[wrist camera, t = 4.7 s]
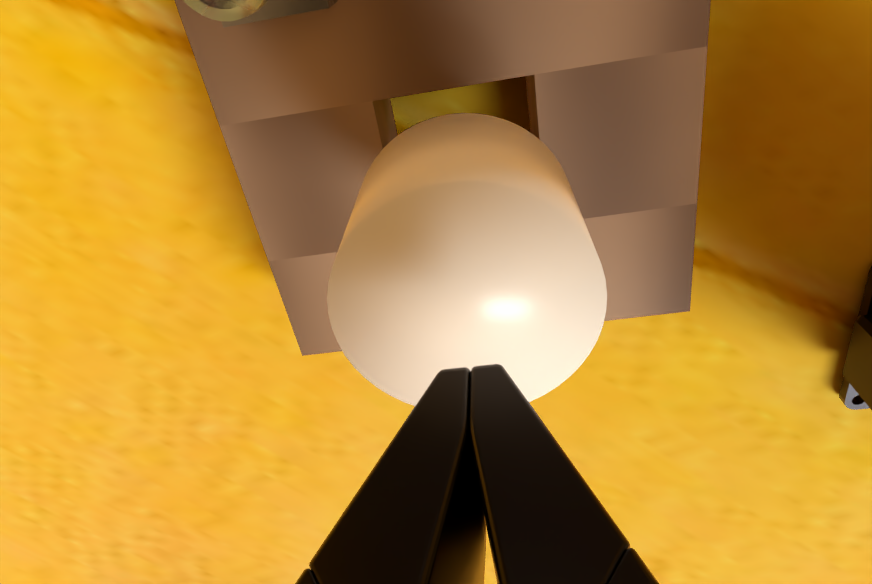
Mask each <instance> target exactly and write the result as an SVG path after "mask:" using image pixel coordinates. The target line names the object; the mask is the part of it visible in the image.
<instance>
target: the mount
mask: <svg viewBox="0 0 872 584" xmlns="http://www.w3.org/2000/svg"><path fill="white" fill-rule="evenodd" d="M710 1H711V0H337V3H335V4H334V5H333V6H331V7H330V8H327V9H322V10H317V11H311V12H306V13H300V14H295V15H289V16H284V17H279V18H273V19H268V20H262V21H257V22H251V23H246V24H240V25H235V26H230V27H224V28H223V25H222V22H221V21H217V20H213V19H210V18H207V17H205V16H203V15H201V14H199V13H197V12H196V11H194V10H193V9H192V8H191V7H189V6H188V5H187V4H186V3H185V2H184V1H183V0H175V3H176V6H177V9H178V11H179V14H180V17H181V20H182V23H183V25H184V28H185V31H186V34H187V36H188V39H189V42H190V45H191V48H192V50H193V53H194V56H195V59H196V61H197V64H198V67H199V70H200V73H201V75H202V78H203V81H204V84H205V86H206V89H207V92H208V95H209V98H210V100H211V103H212V106H213V109H214V111H215V114H216V117H217V120H218V122H219V125H220V128H221V131H222V134H223V136H224V139H225V142H226V145H227V147H228V150H229V153H230V156H231V159H232V161H233V164H234V167H235V170H236V172H237V175H238V178H239V181H240V184H241V186H242V189H243V192H244V195H245V197H246V200H247V203H248V206H249V209H250V211H251V214H252V217H253V220H254V222H255V225H256V228H257V231H258V233H259V236H260V239H261V242H262V245H263V247H264V250H265V253H266V256H267V258H268V261H269V264H270V267H271V270H272V272H273V275H274V278H275V281H276V283H277V286H278V289H279V292H280V295H281V297H282V300H283V303H284V306H285V308H286V311H287V314H288V317H289V320H290V322H291V325H292V328H293V331H294V333H295V336H296V339H297V342H298V344H299V347H300V350H301V353H302V356H303V355H311V354H320V353H329V352H337V351H342V349H341V347H340V346H339V344H338V342H337V340H336V337H335V335H334V332H333V330H332V327H331V323H330V319H329V314H328V304H327V293H328V282H329V278H330V274H331V270H332V266H333V263H334V261H335V258H336V255H337V252H338V249H339V247H340V244H341V241H342V238H343V236H344V233H345V230H346V227H347V224H348V222H349V219H350V216H351V213H352V211H353V208H354V205H355V202H356V199H357V197H358V194H359V191H360V188H361V186H362V183H363V180H364V178H365V176H366V173H367V171H368V169H369V168H370V166H371V164H372V162H373V161H374V159H375V158H376V157H377V155H378V154H379V153H380V152H381V150H382V149H383V148H384V147H385V146H386V145H387V144H388V143H389V142H390V141H391V140H392V139H394V138H395V137H396V136H398V135H397V130H396V125H395V120H394V115H393V111H392V106H391V101H390V98H394V97H401V96H407V95H413V94H419V93H425V92H431V91H437V90H443V89H449V88H456V87H462V86H468V85H474V84H480V83H486V82H492V81H498V80H504V79H510V78H517V77H523V76H526V88H527V99H528V111H529V123H530V133H532V134H533V135H535V136H536V137H537V138H538V139H539V140H540V141H542V142H543V143H544V144H545V145H546V146H547V147H548V148H549V150H550V151H551V152H552V153H553V154H554V155H555V157H556V159H557V160H558V162H559V163H560V165H561V166H562V168H563V171H564V173H565V175H566V177H567V180H568V182H569V185H570V187H571V190H572V192H573V194H574V197H575V199H576V202H577V204H578V207H579V209H580V212H581V214H582V217H583V219H584V222H585V224H586V227H587V229H588V232H589V234H590V237H591V239H592V242H593V244H594V247H595V249H596V252H597V254H598V257H599V259H600V262H601V264H602V268H603V272H604V275H605V279H606V288H607V307H606V314H605V319H604V321H608V320H616V319H625V318H634V317H643V316H651V315H660V314H669V313H677V312H686V311H690V301H691V286H692V271H693V256H694V241H695V226H696V211H697V196H698V181H699V166H700V151H701V136H702V121H703V106H704V91H705V76H706V61H707V46H708V31H709V16H710Z"/></svg>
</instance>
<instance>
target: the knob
mask: <svg viewBox="0 0 872 584" xmlns="http://www.w3.org/2000/svg"><path fill="white" fill-rule="evenodd" d="M327 304H328V314H329V319H330V323H331V327H332V330H333V332H334V335H335V337H336V340H337V342H338V344H339V346H340V347H341V349H342V351H343V353H344V354H345V356H346V357H347V358H348V360H349V361H350V362H351V364H352V365H353V366H354V367H355V368H356V369H357V370H358V371H359V372H360V373H361V374H362V375H363V376H364V377H365V378H366V379H367V380H368V381H370V382H371V383H372V384H373V385H375V386H376V387H377V388H379V389H381V390H382V391H384V392H385V393H387V394H389V395H390V396H392V397H395V398H397V399H399V400H401V401H403V402H405V403H408V404H411V405H414V406H416V404H417V403H418V401H419V400H420V399H421V397H422V396H423V394H424V393H425V391H426V390H427V388H428V387H429V385H430V384H431V382H432V381H433V379H434V378H435V376H436V375H437V373H438V372H439V371H441V370H443V369H451V368H461V367H467V368H469V370H470V371H471V370H472V368H473V367H474V366H480V365H490V364H500V365H502V366H503V367H504V369H505V370H506V371H507V373H508V374H509V376H510V377H511V378H512V380H513V381H514V383H515V384H516V385H517V387H518V388H519V389H520V391H521V392H522V394H523V395H524V396H525V398H526V399H527V401H528V402H530V401H532V400H534V399H537V398H539V397H541V396H543V395H545V394H546V393H548V392H549V391H551V390H553V389H554V388H556V387H557V386H559V385H560V384H561V383H562V382H564V381H565V380H566V379H567V378H569V377H570V376H571V375H572V374H573V373H574V372H575V371H576V370H577V369H578V368H579V367H580V366H581V364H582V363H583V362H584V360H585V359H586V358H587V356H588V355H589V354H590V352H591V351H592V349H593V347H594V345H595V343H596V342H597V340H598V337H599V335H600V332H601V329H602V327H603V323H604V319H605V314H606V307H607V288H606V279H605V275H604V272H603V268H602V264H601V262H600V259H599V257H598V254H597V252H596V249H595V247H594V244H593V242H592V239H591V237H590V234H589V232H588V229H587V227H586V224H585V222H584V219H583V217H582V214H581V212H580V209H579V207H578V204H577V202H576V199H575V197H574V194H573V192H572V190H571V187H570V185H569V182H568V180H567V177H566V175H565V173H564V171H563V168H562V166H561V165H560V163H559V162H558V160H557V159H556V157H555V155H554V154H553V153H552V152H551V151H550V150H549V148H548V147H547V146H546V145H545V144H544V143H543V142H542V141H540V140H539V139H538V138H537V137H536V136H535V135H533V134H532V133H530V132H529V131H527V130H526V129H524V128H522V127H521V126H518V125H516V124H514V123H512V122H510V121H507V120H504V119H501V118H498V117H495V116H490V115H484V114H477V113H457V114H447V115H443V116H438V117H434V118H431V119H428V120H425V121H423V122H420V123H418V124H416V125H414V126H412V127H410V128H408V129H406V130H405V131H403V132H402V133H401V134H399V135H398V136H396V137H395V138H394V139H392V140H391V141H390V142H389V143H388V144H387V145H386V146H385V147H384V148H383V149H382V150H381V152H380V153H379V154H378V155H377V157H376V158H375V159H374V161H373V162H372V164H371V166H370V168H369V169H368V171H367V173H366V176H365V178H364V180H363V183H362V186H361V188H360V191H359V194H358V197H357V199H356V202H355V205H354V208H353V211H352V213H351V216H350V219H349V222H348V224H347V227H346V230H345V233H344V236H343V238H342V241H341V244H340V247H339V249H338V252H337V255H336V258H335V261H334V263H333V266H332V270H331V274H330V278H329V282H328V293H327Z"/></svg>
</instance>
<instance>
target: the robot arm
mask: <svg viewBox="0 0 872 584" xmlns="http://www.w3.org/2000/svg"><path fill="white" fill-rule="evenodd" d="M843 376H844V377H843V381H842V385H841V389H840V393H839V398H840V399H841V400H842V401H843V403H844V404H845V405H846V407H847V408H849V409H867V408H870V409H871V410H872V267H871V269H870V271H869V275H868V279H867V283H866V287H865V291H864V295H863V300H862V304H861V308H860V312H859V316H858V318H857V320H856V321H855V324H854V328H853V332H852V336H851V340H850V344H849V348H848V352H847V356H846V361H845V365H844V369H843ZM855 396H856V397H855ZM486 526H487V531H488V537H489V542H490V548H491V553H492V558H493V563H494V568H495V573H496V579H497V584H659V583H658V581H657V580H656V579H655V577H654V576H653V575H652V573H651V572H650V570H649V569H648V568H647V566H646V565H645V564H644V562H643V561H642V559H641V558H640V557H639V555H638V554H637V552H636V551H635V550H634V549H633V548H630V544H629V542H628V540H627V539H626V538H625V536H624V535H623V533H622V532H621V531H620V529H619V528H618V526H617V525H616V524H615V522H614V521H613V519H612V518H611V517H610V515H609V514H608V512H607V511H606V510H605V508H604V507H603V505H602V504H601V503H600V501H599V500H598V498H597V497H596V496H595V494H594V493H593V491H592V490H591V489H590V487H589V486H588V484H587V483H586V482H585V480H584V479H583V477H582V476H581V475H580V473H579V472H578V471H577V469H576V468H575V466H574V465H573V464H572V462H571V461H570V459H569V458H568V457H567V455H566V454H565V452H564V451H563V450H562V448H561V447H560V445H559V444H558V443H557V441H556V440H555V438H554V437H553V436H552V434H551V433H550V431H549V430H548V429H547V427H546V426H545V424H544V423H543V422H542V420H541V419H540V417H539V416H538V415H537V413H536V412H535V410H534V409H533V408H532V406H531V405H530V403H529V402H528V401H527V399H526V398H525V396H524V395H523V394H522V392H521V391H520V389H519V388H518V387H517V385H516V384H515V383H514V381H513V380H512V378H511V377H510V376H509V374H508V373H507V371H506V370H505V369H504V367H503V366H502V365H500V364H490V365H480V366H474V367H473V368H472V370H471V371H470V370H469V368H467V367H461V368H451V369H443V370H441V371H439V372H438V373H437V375H436V376H435V378H434V379H433V381H432V382H431V384H430V385H429V387H428V388H427V390H426V391H425V393H424V394H423V396H422V397H421V399H420V400H419V401H418V403H417V404H416V406H415V407H414V409H413V410H412V412H411V413H410V415H409V416H408V418H407V419H406V421H405V422H404V424H403V425H402V427H401V428H400V430H399V431H398V433H397V434H396V436H395V437H394V439H393V440H392V442H391V443H390V444H389V446H388V447H387V449H386V450H385V452H384V453H383V455H382V456H381V458H380V459H379V461H378V462H377V464H376V465H375V467H374V468H373V470H372V471H371V473H370V474H369V476H368V477H367V479H366V480H365V482H364V483H363V485H362V486H361V488H360V489H359V490H358V492H357V493H356V495H355V496H354V498H353V499H352V501H351V502H350V504H349V505H348V507H347V508H346V510H345V511H344V513H343V514H342V516H341V517H340V519H339V520H338V522H337V523H336V525H335V526H334V528H333V529H332V531H331V532H330V534H329V535H328V536H327V538H326V539H325V541H324V542H323V544H322V545H321V547H320V548H319V550H318V551H317V553H316V554H315V556H314V557H313V559H312V560H311V562H310V564H309V566H310V569H311V570H310V569H305V570H304V571H303V573H302V575H301V576H300V578H299V579H298V581H297V582H296V583H295V584H484V571H485V553H486Z"/></svg>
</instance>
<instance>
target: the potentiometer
mask: <svg viewBox="0 0 872 584" xmlns="http://www.w3.org/2000/svg"><path fill="white" fill-rule="evenodd" d="M183 1H184V2H185V3H186V4H187V5H188V6H189V7H191V8H192V9H193V10H194V11H196V12H197V13H199V14H201V15H203V16H205V17H207V18H210V19H213V20H217V21H221V22H222V25H223V28H224V27H230V26H235V25H240V24H246V23H251V22H257V21H262V20H268V19H273V18H279V17H284V16H289V15H295V14H300V13H306V12H311V11H317V10H322V9H327V8H330V7H331V6H333V5H334V4H335V3H337V0H183Z"/></svg>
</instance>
